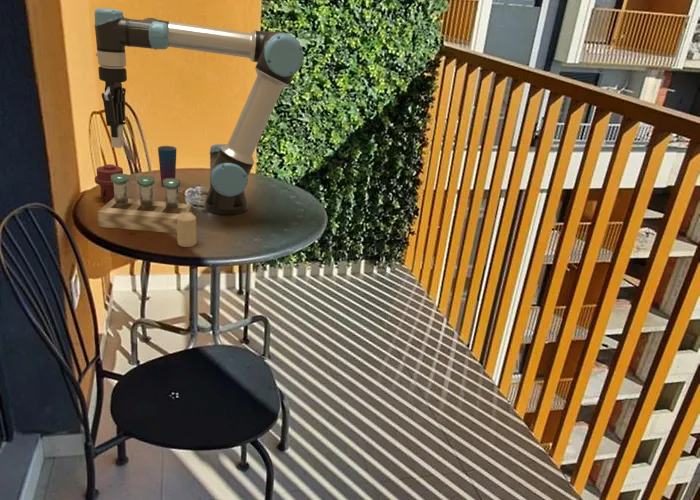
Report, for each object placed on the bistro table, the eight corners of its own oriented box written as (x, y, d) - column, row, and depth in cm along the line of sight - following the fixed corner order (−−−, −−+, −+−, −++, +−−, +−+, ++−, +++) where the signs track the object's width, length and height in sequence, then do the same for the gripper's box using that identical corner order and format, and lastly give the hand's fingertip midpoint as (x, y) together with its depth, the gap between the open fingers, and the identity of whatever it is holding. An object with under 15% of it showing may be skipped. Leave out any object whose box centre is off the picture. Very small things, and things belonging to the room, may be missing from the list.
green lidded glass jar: (157, 201, 176) (156, 176, 173) (152, 207, 172) (151, 181, 168) (141, 200, 176) (140, 175, 173) (136, 205, 171) (134, 179, 168)
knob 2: (182, 203, 177) (181, 179, 174) (178, 209, 172) (177, 183, 169) (166, 202, 177) (165, 177, 173) (161, 207, 172) (160, 182, 168)
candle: (186, 248, 161) (185, 217, 157) (173, 243, 164) (172, 212, 160) (200, 243, 166) (199, 213, 162) (187, 238, 168) (187, 208, 164)
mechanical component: (132, 197, 195) (116, 206, 186) (107, 193, 197) (90, 201, 188) (130, 164, 190) (114, 171, 181) (105, 160, 192) (87, 167, 183)
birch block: (193, 218, 184) (192, 204, 182) (182, 233, 171) (182, 219, 169) (115, 211, 182) (114, 197, 180) (98, 226, 169) (97, 211, 167)
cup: (174, 189, 209) (173, 151, 203) (156, 187, 209) (155, 149, 202) (179, 183, 215) (178, 146, 209) (162, 182, 215) (161, 144, 209)
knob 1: (132, 199, 176) (131, 174, 172) (127, 204, 171) (125, 179, 168) (116, 198, 175) (114, 172, 172) (110, 203, 171) (108, 177, 167)
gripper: (108, 62, 163) (113, 140, 172) (88, 67, 150) (96, 151, 159) (133, 65, 163) (137, 142, 173) (116, 70, 150) (121, 153, 160)
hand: (117, 146), depth 166 cm, fingers closed
